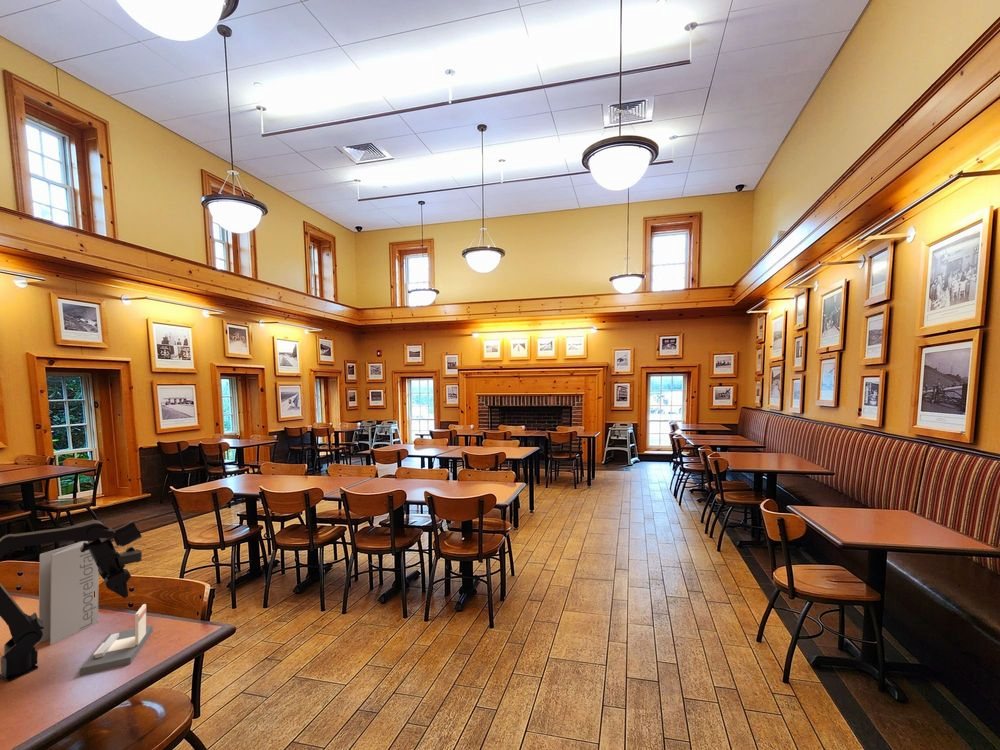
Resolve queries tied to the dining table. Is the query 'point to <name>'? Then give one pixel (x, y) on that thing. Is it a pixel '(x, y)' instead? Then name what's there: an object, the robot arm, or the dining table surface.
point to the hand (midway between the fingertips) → (124, 593)
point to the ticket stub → (140, 624)
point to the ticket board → (115, 651)
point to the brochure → (67, 592)
